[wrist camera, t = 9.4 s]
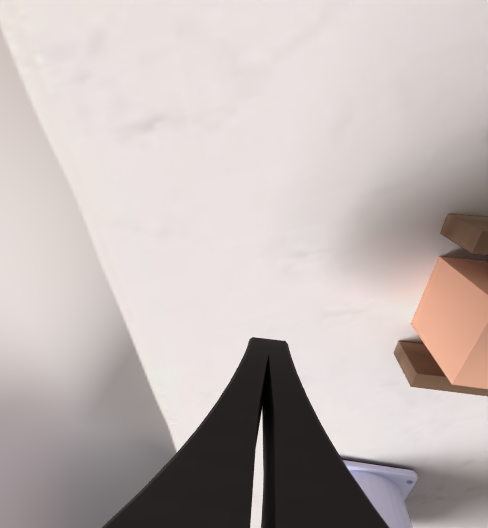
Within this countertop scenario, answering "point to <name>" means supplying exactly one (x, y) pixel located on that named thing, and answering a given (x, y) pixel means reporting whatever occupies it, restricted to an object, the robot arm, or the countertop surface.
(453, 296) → the terracotta block
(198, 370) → the countertop surface
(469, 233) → the walnut bay
